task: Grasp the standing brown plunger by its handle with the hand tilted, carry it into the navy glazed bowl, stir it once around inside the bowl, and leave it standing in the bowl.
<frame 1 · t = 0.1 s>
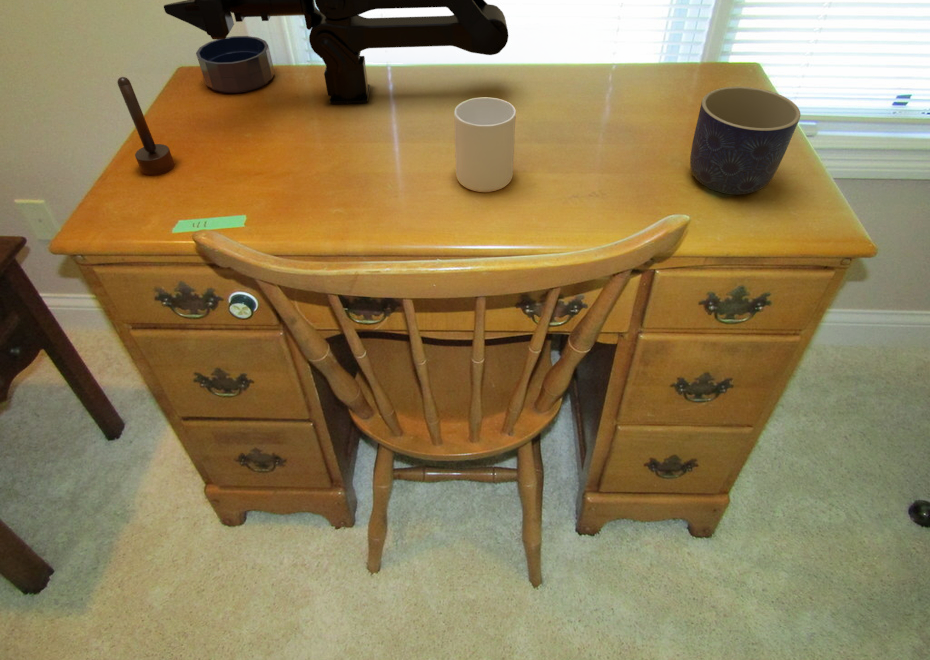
mug: (483, 172, 93), on the table
planter: (726, 180, 91), on the table
bowl: (240, 79, 117), on the table
brown plunger: (158, 166, 95), on the table
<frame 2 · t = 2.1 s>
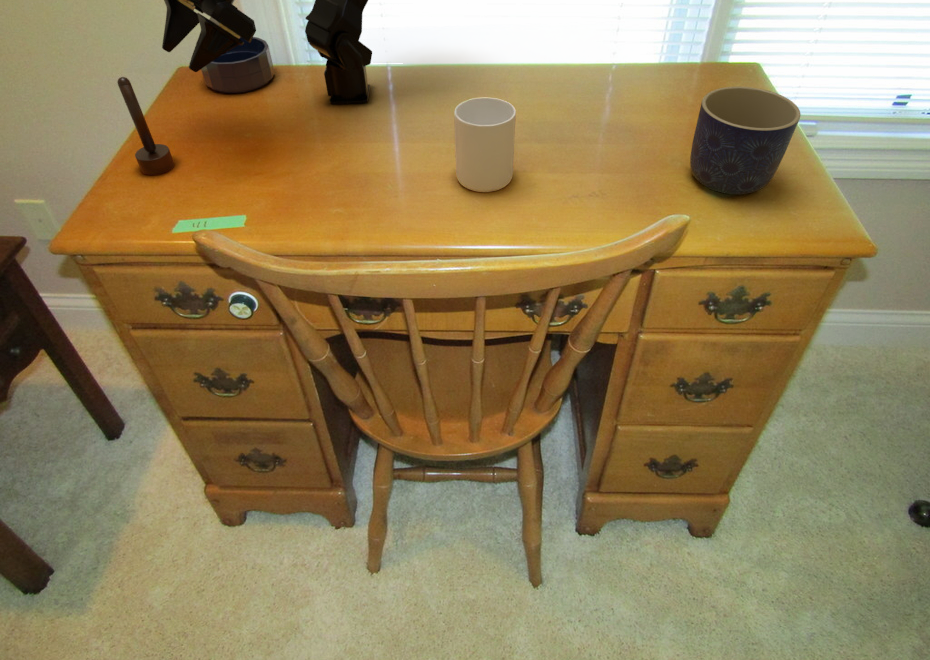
hand: (178, 60, 89), 14 cm above the table, tool tilted 45°, fingers open, 9 cm apart
nothing on the table moved.
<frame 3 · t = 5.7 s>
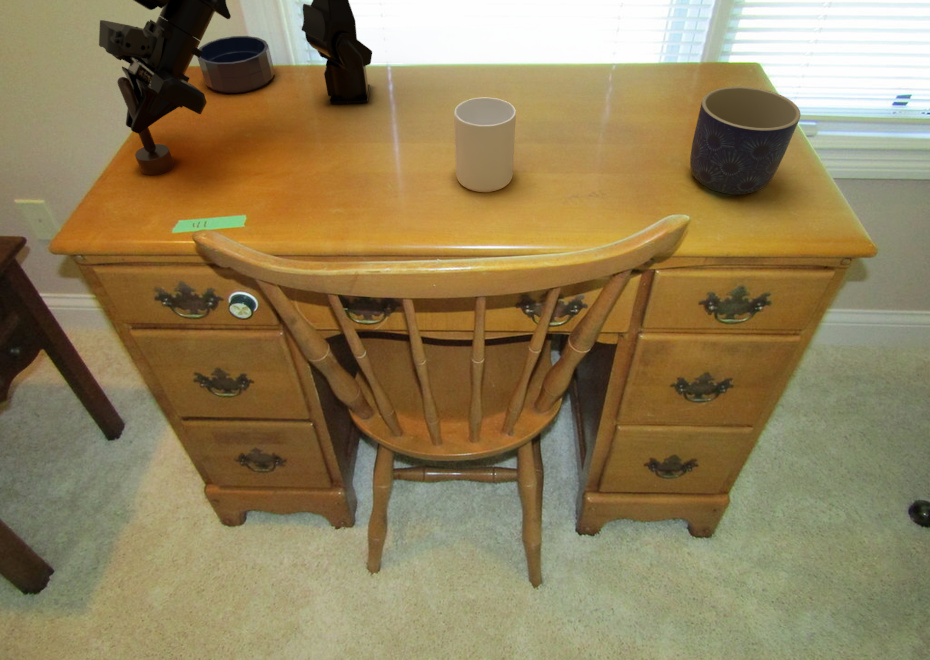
hand: (132, 129, 90), 7 cm above the table, tool tilted 45°, fingers closed on brown plunger
brown plunger: (158, 166, 95), on the table, touching gripper
everything else where it was.
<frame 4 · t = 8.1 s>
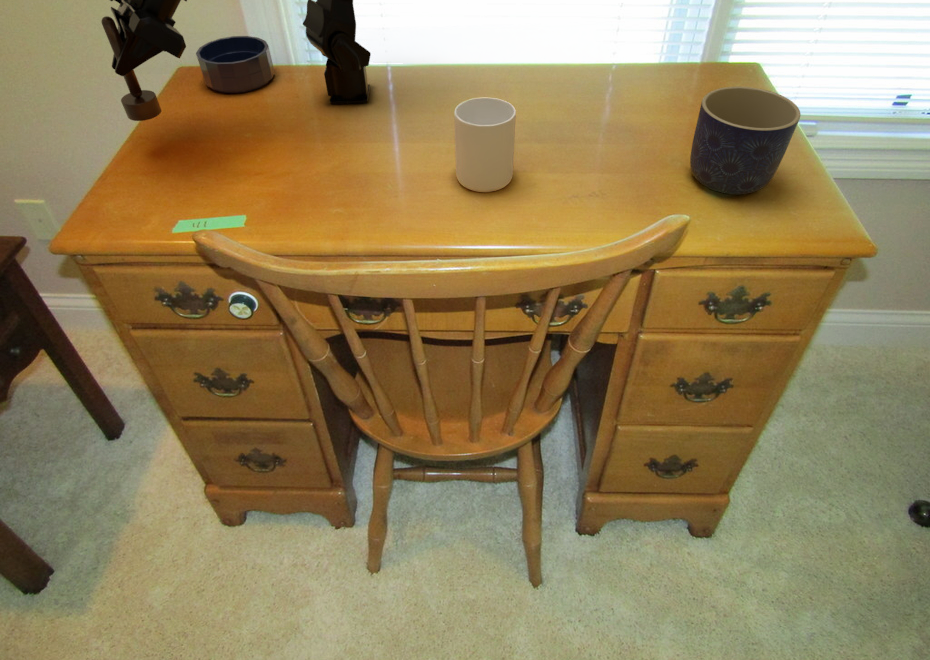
hand: (116, 71, 89), 13 cm above the table, tool tilted 45°, fingers closed on brown plunger
brown plunger: (144, 113, 94), point 6 cm above the table, touching gripper
everything else where it was.
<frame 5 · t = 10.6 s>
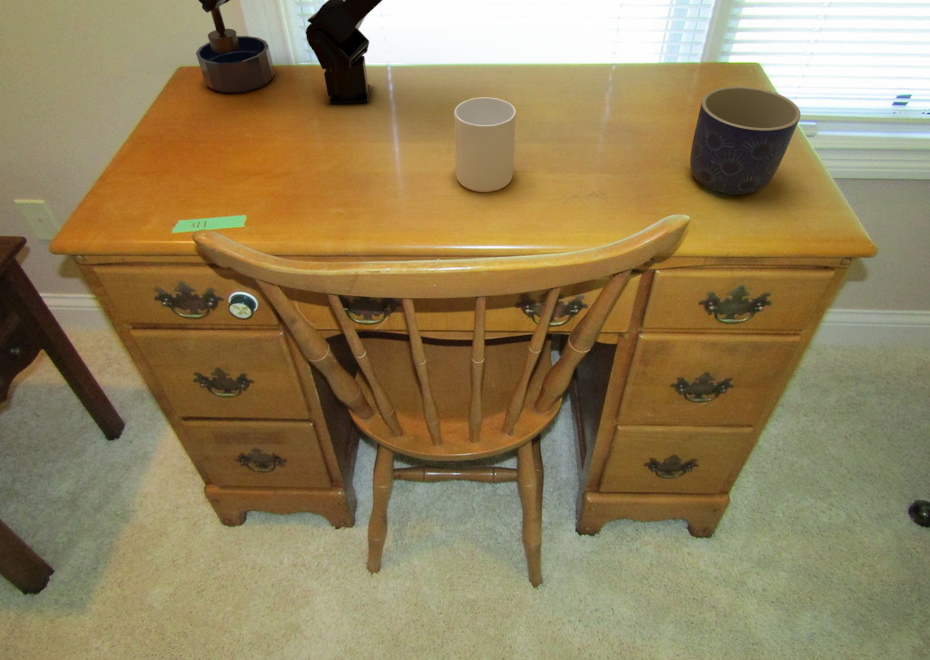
hand: (208, 8, 107), 13 cm above the table, tool tilted 45°, fingers closed on brown plunger
brown plunger: (226, 48, 112), point 6 cm above the table, touching gripper
everything else where it was.
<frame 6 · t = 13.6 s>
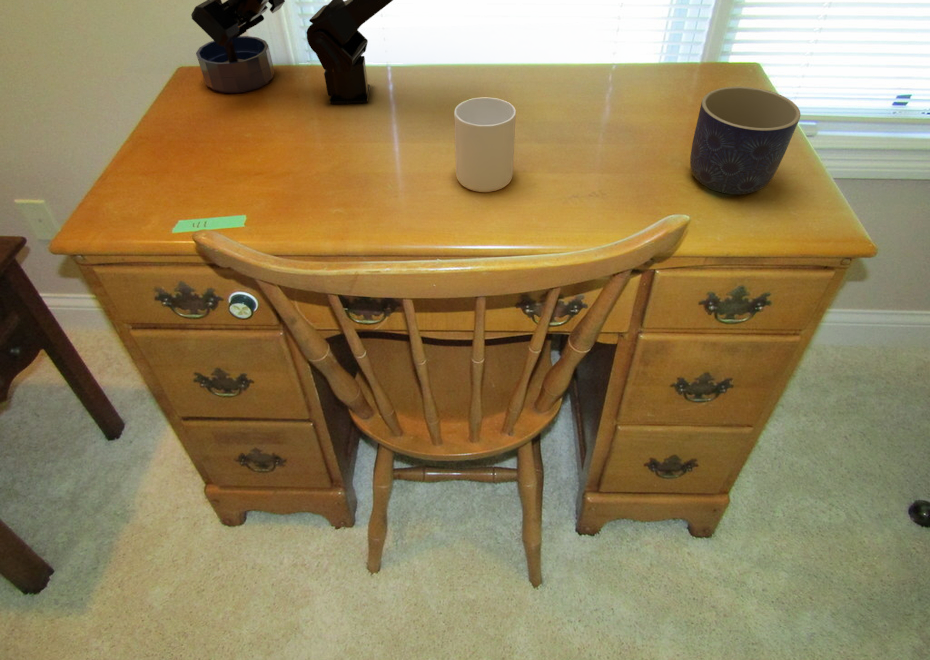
hand: (221, 40, 110), 7 cm above the table, tool tilted 45°, fingers closed on brown plunger
brown plunger: (238, 78, 115), point 1 cm above the table, touching gripper
everything else where it was.
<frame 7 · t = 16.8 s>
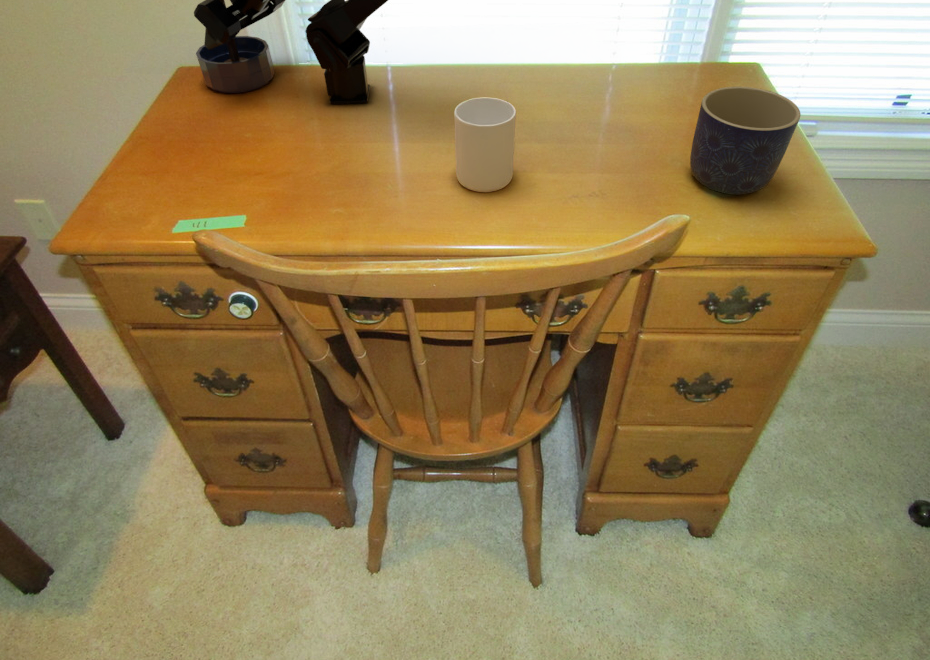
hand: (222, 37, 112), 7 cm above the table, tool tilted 45°, fingers open, 9 cm apart
brown plunger: (239, 76, 116), point 1 cm above the table, touching bowl
everything else where it was.
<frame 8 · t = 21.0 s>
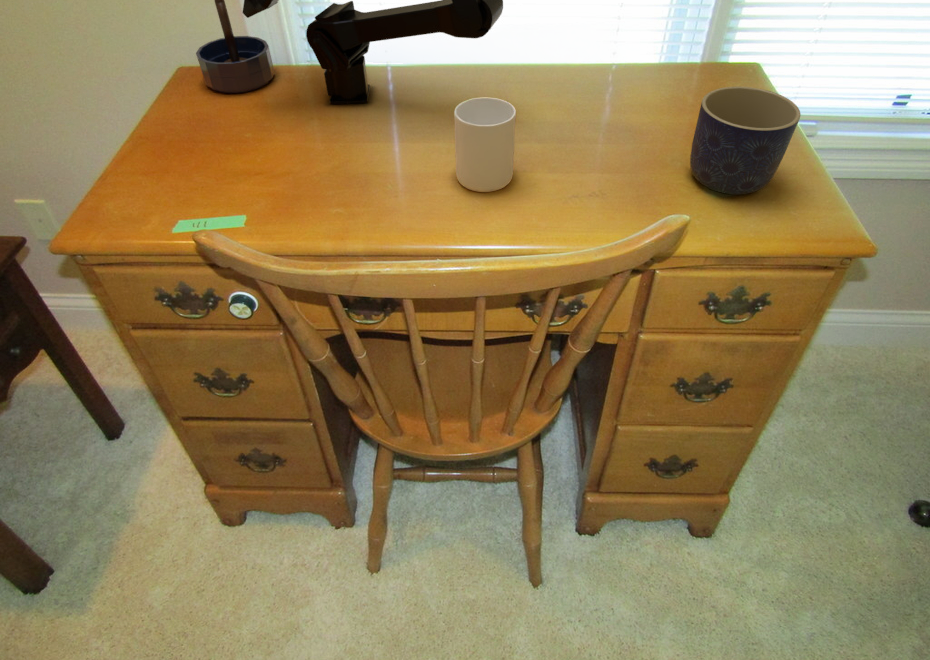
hand: (260, 5, 105), 14 cm above the table, tool tilted 45°, fingers open, 9 cm apart
nothing on the table moved.
at the end: brown plunger 0.0 cm off-centre in the bowl, point 0.6 cm above the bowl's base; brown plunger tilted 0°; the gripper is holding nothing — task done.
